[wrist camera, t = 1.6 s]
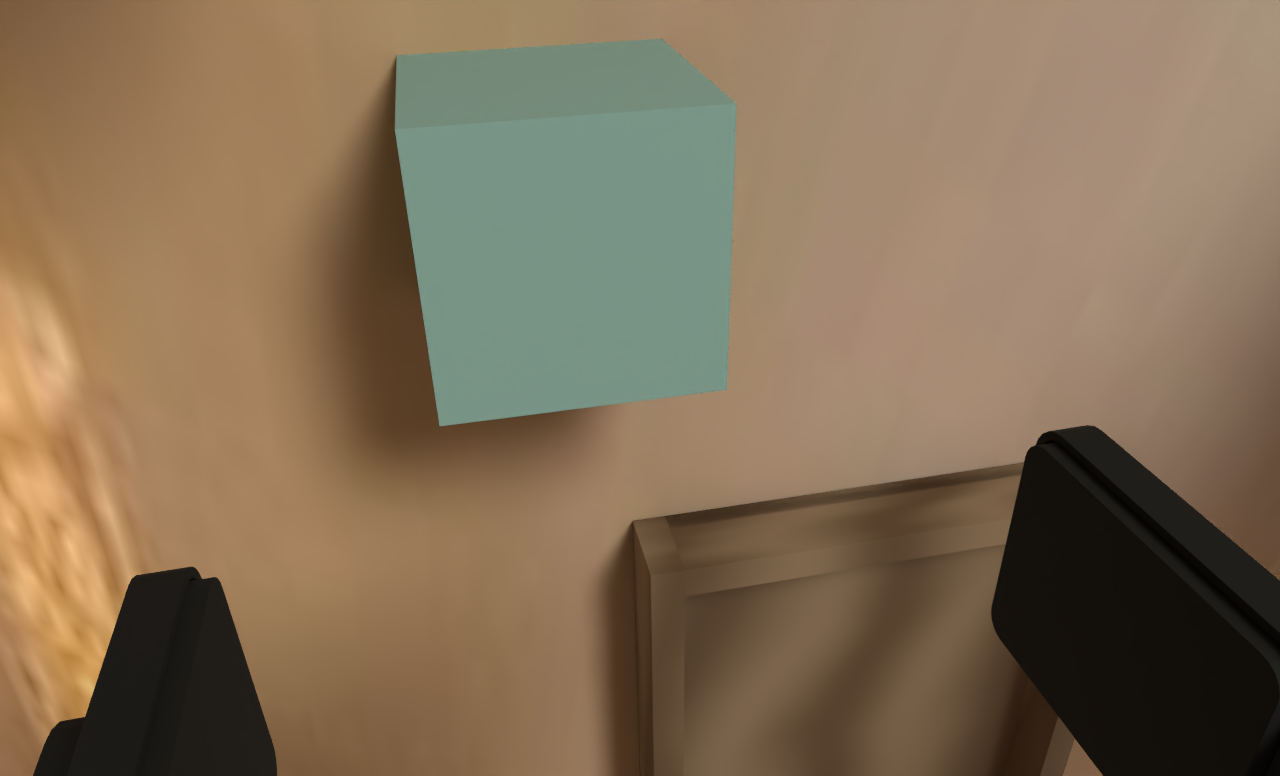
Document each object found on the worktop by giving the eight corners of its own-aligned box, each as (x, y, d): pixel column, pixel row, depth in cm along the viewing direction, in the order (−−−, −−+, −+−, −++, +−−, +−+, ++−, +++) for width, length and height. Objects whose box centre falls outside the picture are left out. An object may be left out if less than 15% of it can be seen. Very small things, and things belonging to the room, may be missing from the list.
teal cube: (661, 38, 22) (736, 103, 17) (662, 275, 25) (726, 389, 20) (396, 54, 21) (394, 129, 16) (432, 299, 24) (439, 426, 19)
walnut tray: (1103, 450, 32) (1153, 495, 30) (1006, 794, 41) (1038, 847, 39) (633, 521, 29) (650, 576, 27) (642, 872, 39) (656, 933, 36)
